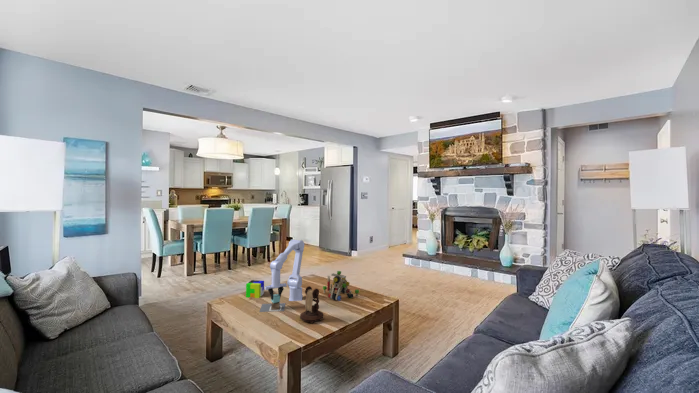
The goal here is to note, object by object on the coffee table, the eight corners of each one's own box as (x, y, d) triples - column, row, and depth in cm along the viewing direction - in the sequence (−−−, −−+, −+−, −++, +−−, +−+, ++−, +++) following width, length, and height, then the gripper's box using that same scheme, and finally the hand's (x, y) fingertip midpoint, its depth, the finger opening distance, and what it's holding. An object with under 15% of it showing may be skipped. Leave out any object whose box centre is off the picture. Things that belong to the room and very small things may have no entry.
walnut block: (279, 306, 209) (279, 301, 208) (279, 309, 204) (279, 303, 203) (272, 307, 208) (272, 301, 208) (271, 310, 203) (271, 304, 203)
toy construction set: (315, 294, 237) (315, 267, 237) (336, 288, 253) (337, 263, 252) (337, 304, 218) (337, 275, 217) (359, 296, 233) (360, 269, 232)
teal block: (277, 299, 209) (277, 293, 209) (279, 301, 205) (279, 296, 205) (271, 300, 207) (271, 295, 206) (273, 303, 203) (273, 297, 203)
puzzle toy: (264, 293, 236) (264, 280, 236) (258, 298, 226) (259, 284, 226) (251, 292, 237) (251, 280, 237) (246, 297, 227) (246, 284, 227)
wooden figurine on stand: (295, 319, 190) (295, 287, 190) (312, 312, 202) (312, 282, 201) (311, 326, 181) (311, 293, 180) (328, 318, 192) (328, 287, 192)
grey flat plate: (285, 303, 215) (285, 302, 215) (284, 311, 202) (284, 310, 202) (262, 304, 213) (262, 303, 213) (259, 312, 199) (259, 311, 199)
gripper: (284, 275, 213) (283, 295, 213) (263, 278, 205) (263, 298, 205) (287, 278, 207) (287, 298, 207) (266, 281, 199) (266, 302, 199)
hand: (275, 298), depth 206 cm, fingers closed on teal block, 4 cm apart
